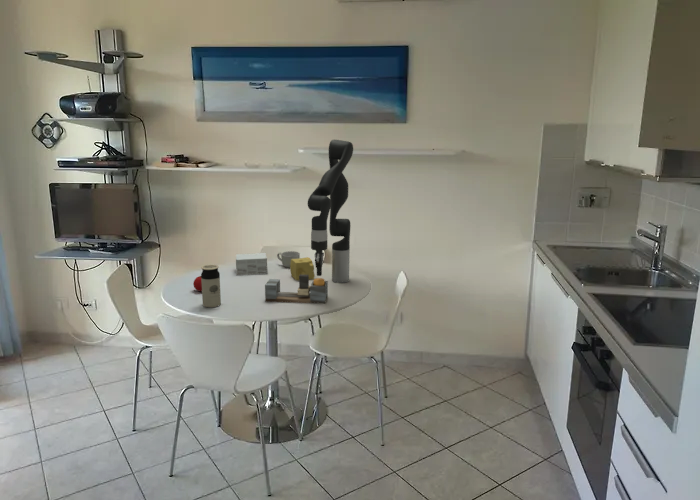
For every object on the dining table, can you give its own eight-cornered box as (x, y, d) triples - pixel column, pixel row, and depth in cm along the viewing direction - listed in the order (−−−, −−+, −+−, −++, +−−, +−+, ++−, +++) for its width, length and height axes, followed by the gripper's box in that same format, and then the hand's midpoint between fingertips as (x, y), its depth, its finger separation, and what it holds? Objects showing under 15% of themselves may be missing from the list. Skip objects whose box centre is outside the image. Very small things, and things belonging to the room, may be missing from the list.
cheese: (314, 279, 277) (314, 261, 274) (295, 281, 273) (295, 263, 270) (308, 274, 286) (308, 256, 284) (290, 276, 282) (289, 258, 280)
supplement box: (266, 268, 297) (265, 252, 295) (267, 274, 285) (267, 258, 283) (236, 269, 294) (235, 253, 292) (236, 275, 281) (235, 259, 279)
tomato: (216, 289, 256) (215, 274, 254) (202, 294, 249) (201, 278, 247) (203, 286, 261) (202, 271, 259) (189, 291, 253) (188, 275, 251)
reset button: (314, 286, 245) (314, 277, 244) (324, 286, 244) (325, 278, 244) (313, 289, 240) (313, 281, 239) (323, 290, 240) (323, 281, 239)
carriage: (299, 290, 247) (299, 273, 245) (310, 290, 246) (310, 273, 244) (297, 294, 240) (297, 277, 238) (308, 295, 240) (308, 277, 238)
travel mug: (202, 303, 237) (199, 265, 233) (219, 301, 240) (218, 263, 235) (203, 308, 230) (201, 269, 225) (221, 306, 232) (220, 268, 228)
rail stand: (269, 294, 250) (269, 279, 248) (327, 296, 248) (327, 280, 246) (265, 301, 240) (264, 285, 238) (325, 303, 238) (325, 287, 237)
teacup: (303, 265, 303) (303, 252, 301) (292, 270, 294) (291, 256, 292) (285, 262, 310) (284, 249, 308) (273, 266, 301) (272, 252, 299)
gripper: (313, 235, 243) (313, 271, 247) (309, 241, 231) (309, 279, 234) (328, 236, 243) (328, 271, 247) (325, 242, 230) (325, 279, 234)
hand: (319, 275), depth 241 cm, fingers closed
